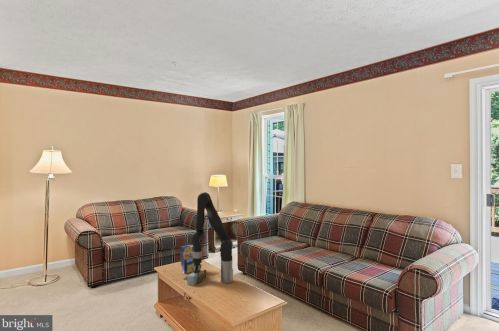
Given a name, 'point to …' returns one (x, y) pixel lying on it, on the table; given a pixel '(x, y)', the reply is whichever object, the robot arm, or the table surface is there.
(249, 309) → the table surface
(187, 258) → the beverage box
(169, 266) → the table surface
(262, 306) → the table surface
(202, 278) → the rack
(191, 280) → the block
